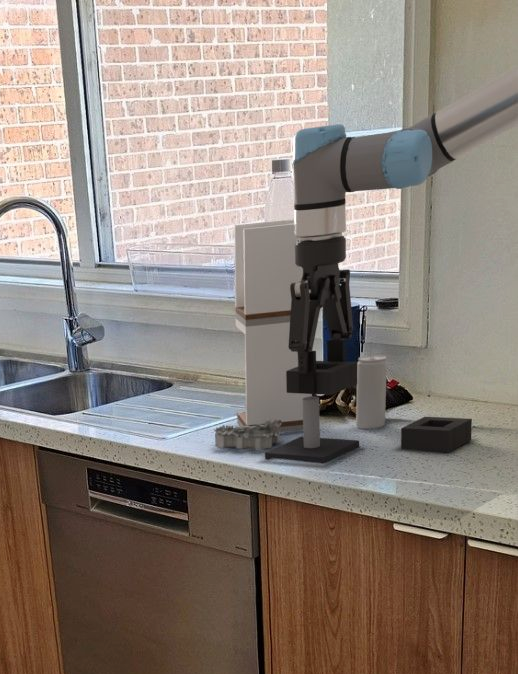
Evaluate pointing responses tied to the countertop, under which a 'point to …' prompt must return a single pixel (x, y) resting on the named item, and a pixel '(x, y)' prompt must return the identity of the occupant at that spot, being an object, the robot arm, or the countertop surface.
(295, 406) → the striped white tower
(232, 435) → the egg carton
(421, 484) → the countertop surface
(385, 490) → the countertop surface
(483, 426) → the countertop surface
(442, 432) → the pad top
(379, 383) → the beverage can
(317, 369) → the black square ring block
